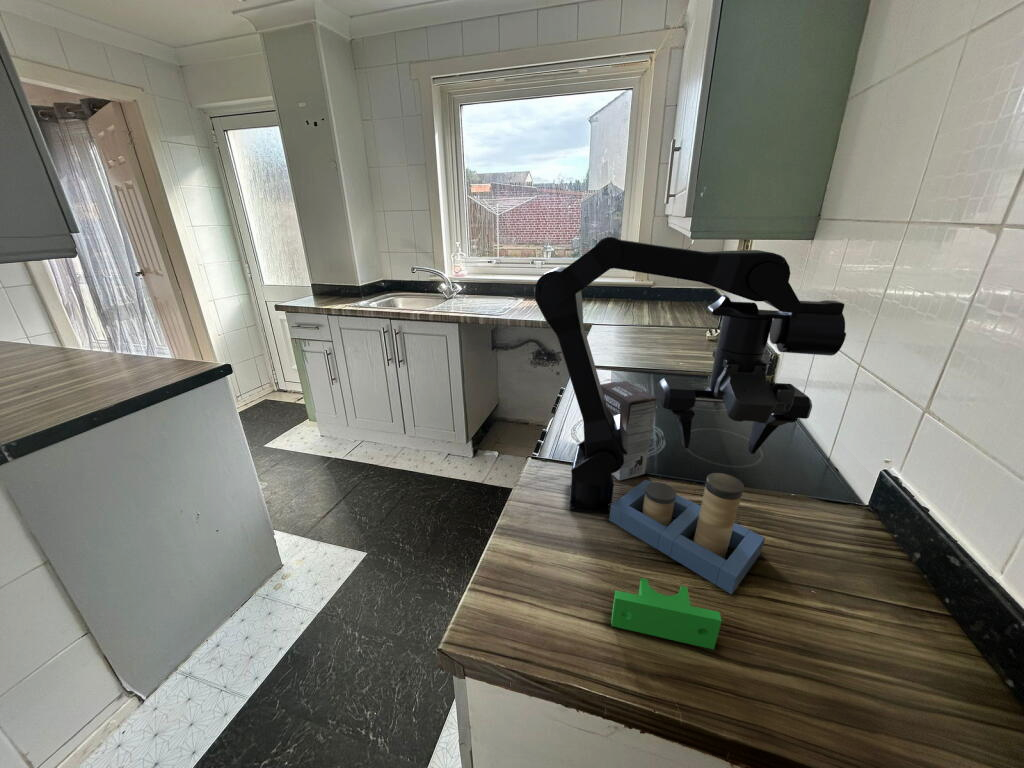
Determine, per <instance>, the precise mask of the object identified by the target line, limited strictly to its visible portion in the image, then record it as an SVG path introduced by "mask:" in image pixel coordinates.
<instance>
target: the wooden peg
mask: <svg viewBox="0 0 1024 768" xmlns="http://www.w3.org/2000/svg"><path fill="white" fill-rule="evenodd" d="M744 489H745V486H744V484H743V482H742V481H741V480H740V479H738V478H736V477H734V476H733V475H731V474H727V473H721V472H713V473H710V474H708V475H707V476H706V479H705V485H704V491H703V495H702V499H701V504H700V506H701V508H700V513H699V518H698V522H697V527H696V531H695V532H694V536H693V540H692V541H693V542H695V543H697V544H698V545H700V546H702V547H704V548H706V549H707V550H709V551H711V552H713V553H715V554H716V555H718V556H720V557H722V558H724V559H725V560H726V556H727V553H728V549H729V542H730V538H731V535H732V531H733V527H734V523H736V519H737V515H738V511H739V507H740V504H741V499H742V497H743V494H744Z"/></svg>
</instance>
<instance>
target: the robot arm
mask: <svg viewBox="0 0 1024 768" xmlns="http://www.w3.org/2000/svg"><path fill="white" fill-rule="evenodd" d="M611 269H617V270H623V271H629V272H634V273H641V274H648V275H653V276H659V277H666V278H672V279H677V280H678V279H679V280H686V281H692V282H697V283H702V284H704V285H708V286H711V287H713V288H716V289H718V290H721V291H723V292H726V293H729V294H732V295H734V296H736V297H737V296H738V297H741V298H743V299H746V300H749V301H753V302H749V301H732V300H731V299H730V297H729V296H728V295H726V294H723V295H721V296H720V297H719V299H718V300H716V301H714V302H713V303H711V304H710V305H708V306H707V310H708V312H710V314H711V315H713V316H716V317H717V316H718V317H722V319H721V324H720V330H719V334H718V339H717V343H716V348H715V349H714V348H713V350H712V358H713V365H712V370H711V374H710V375H708V376H707V381H706V383H707V384H708V387H695V386H693V385H692V384H691V383H690V381H689V379H687V378H671V377H663V378H661V380H660V381H659V382H658V384H657V388H656V389H657V390H656V395H657V399H658V400H659V402H660V404H661V406H662V408H664V409H666V410H669V411H670V413H671V414H673V415H675V416H676V417H677V422H678V427H679V430H680V435H681V440H682V444H683V447H684V449H686V450H687V449H689V446H690V443H691V435H692V434H691V433H692V424H693V423H692V422H693V418H694V417H695V415H696V413H695V412H694V410H693V408H694V407H695V405H696V402H703V403H704V402H705V403H722V404H723V405H724V406H725V409H726V414H727V416H728V418H729V419H731V420H732V421H734V422H739V423H740V422H752V426H751V431H750V435H749V440H748V452H749V453H750V454H751V455H754V454H756V453H757V451H758V450H759V449H760V447H761V446H762V445H763V444H764V443H765V442H766V440H767V439H768V438H769V437H770V435H772V433H773V432H774V431H776V430H777V428H779V427H780V426H784V425H785V424H789V423H794V424H795V423H796V422H798V419H804V420H805V419H806V420H807V419H809V418H810V415H811V412H812V410H813V402H812V399H811V397H809V396H808V395H807V394H805V393H804V392H803V391H802V390H800V389H798V388H797V387H796V386H795V385H793V384H791V383H783V382H774V381H767V375H766V373H767V369H768V368H767V365H768V363H767V362H765V361H764V358H765V354H766V349H767V346H768V341H769V342H770V343H771V344H772V345H776V349H777V351H778V352H779V353H787V354H800V355H801V354H803V355H815V356H827V357H832V356H835V355H836V354H837V353H839V351H840V350H841V349H842V347H843V346H844V343H845V340H846V337H847V332H845V331H846V319H845V316H844V313H843V312H844V309H845V306H846V305H845V304H844V303H843V302H841V301H838V300H830V299H829V300H826V299H825V300H819V301H814V300H813V301H812V300H800V299H799V298H798V295H797V294H796V292H795V291H794V289H793V287H792V286H791V283H790V278H791V268H790V264H789V263H788V261H787V259H786V258H785V257H784V256H783V255H781V254H778V253H775V252H771V251H765V250H759V249H744V250H743V249H742V250H741V249H740V250H720V251H719V250H718V251H701V250H694V249H687V248H681V247H673V246H666V245H660V244H653V243H647V242H639V241H633V240H627V239H621V238H618V237H616V236H606V237H604V238H602V239H600V240H599V241H598V242H597V243H596V244H595V246H594V247H592V248H591V249H590V250H588V251H587V252H585V253H584V254H582V255H581V256H580V257H578V258H577V259H576V260H575V261H573V262H572V263H570V264H569V265H568V266H566V267H563V266H559V267H555V268H553V269H551V270H549V271H548V272H545V273H544V274H542V275H541V277H539V278H538V280H537V281H536V284H535V285H534V288H533V296H534V297H533V298H534V300H535V303H536V304H537V307H538V309H539V310H540V312H541V314H542V316H543V318H544V320H545V322H546V323H547V324H548V326H549V327H550V328H551V330H552V331H553V332H554V334H555V336H556V337H557V340H558V344H559V347H560V351H561V353H562V357H563V359H564V362H565V367H566V370H567V372H568V375H569V380H570V382H571V384H572V388H573V392H574V396H575V398H576V401H577V405H578V407H579V411H580V414H581V416H582V421H583V441H580V443H578V444H577V445H576V450H575V452H574V453H575V454H574V458H573V462H572V463H571V465H572V467H571V470H570V471H571V477H570V485H569V496H568V497H569V499H568V509H569V510H570V511H574V512H584V513H593V514H602V515H609V514H610V505H612V504H613V503H612V502H613V495H614V487H615V484H614V483H615V482H614V475H612V473H615V472H617V471H618V470H620V468H621V467H622V466H623V464H624V454H627V446H628V433H627V432H626V431H625V429H624V427H623V423H622V414H618V415H616V416H613V415H612V414H611V412H610V411H609V409H608V408H607V405H606V402H605V398H604V395H603V391H602V388H601V382H600V378H599V374H598V371H597V367H596V364H595V361H594V357H593V354H592V351H591V347H590V343H589V340H588V337H587V333H586V330H585V326H584V305H583V294H582V290H583V289H585V288H586V287H588V286H589V285H590V284H592V283H593V282H594V281H596V280H597V279H599V278H600V277H602V276H603V275H604V274H605V273H607V272H608V271H609V270H611ZM756 302H763V303H765V304H767V305H768V306H770V307H772V308H775V309H776V310H771V309H759V307H758V304H757V303H756Z"/></svg>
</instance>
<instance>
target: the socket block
mask: <svg viewBox="0 0 1024 768" xmlns="http://www.w3.org/2000/svg"><path fill="white" fill-rule="evenodd" d="M649 483H653V482H652V481H650V480H648V479H644V480H643V481H642V482H640V483H639V484H638V485H636V486H635V487H633V488H632V489H631V490H630V491H628V492H627V493H625V494H623V496H621V497H620V498H618V499H617V500H616V501H614V502H613V503H611V504H610V508H609V517H608V520H609V522H611V523H613V524H614V525H616V526H618V527H619V528H621V529H623V530H625V532H628V533H629V534H631V535H633V536H634V537H636V538H637V539H639V540H641V541H642V542H644V543H645V544H648V545H649V546H651V547H652V548H654V549H655V550H658V551H659V552H661V553H663V554H664V555H665V556H667V557H669V558H670V559H672V560H674V561H676V563H678V564H680V565H682V566H684V567H685V568H687V569H689V570H690V571H692V572H693V573H695V574H697V575H699V576H700V577H702V578H703V579H705V580H707V581H709V582H710V583H712V584H713V585H716V586H717V587H718V588H720V589H721V590H723V591H725V592H726V593H728V594H730V595H733V593H734V592H735V591H736V590H737V588H738V587H739V585H740V584H741V582H742V581H743V579H744V578H745V577H746V575H747V574H748V572H749V571H750V569H751V568H752V567H753V565H754V564H755V562H756V561H757V559H758V558H759V557H760V555H761V553H762V550H763V547H764V543H765V541H766V537H765V536H763V535H761V534H759V533H757V532H755V531H753V530H751V529H749V528H746V527H744V526H742V525H740V524H739V523H737V522H735V523H734V527H733V531H732V535H731V538H730V542H729V546H728V548H731V550H733V551H732V553H731V554H730V555H729V557H728V558H727V559H726V558H725V559H724V558H722V557H720V556H718V555H716V554H715V553H713V552H711V551H709V550H707V549H706V548H704V547H702V546H700V545H698V544H697V543H695V542H693V541H694V540H692V539H690V537H691V536H692V535H693V534H695V531H696V527H697V522H698V518H699V513H700V508H701V505H699V504H697V503H696V502H693V501H692V500H691V501H690V500H689V499H687V498H685V497H683V496H681V495H679V494H677V493H676V499H675V503H674V508H673V513H672V518H674V519H673V521H671V524H670V525H669V526H668V527H666V526H664V525H663V524H661V523H659V522H657V521H655V520H654V519H652V518H650V517H648V516H646V515H645V514H643V513H642V510H643V503H644V497H645V488H646V486H647V485H648V484H649Z"/></svg>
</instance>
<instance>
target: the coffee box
mask: <svg viewBox="0 0 1024 768" xmlns="http://www.w3.org/2000/svg"><path fill="white" fill-rule="evenodd" d="M600 384H601V383H600ZM601 388H602V391H603V395H604V398H605V402H606V405H607V408H608V409H609V411H610V412H611V414H612V415H613V416H616V415H618V414H622V423H623V427H624V429H625V431H626V432H627V433H628V446H627V454H624V464H623V466H622V467H621V468H620V470H618V471H617V472H615V473H612V474H611V475H612V476H613V477H615V479H616V480H618V481H619V482H620V481H624V480H627V479H631V478H635V477H639V476H643V475H645V474H646V468H647V462H648V455H649V450H650V444H651V438H652V432H653V426H654V420H655V413H656V409H657V402H658V396H654V395H653V394H651V393H650V392H648V391H646V390H643V388H640V387H638V386H637V385H635V384H632V383H631V382H629V381H627V380H622V381H613V382H606V383H602V384H601Z"/></svg>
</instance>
